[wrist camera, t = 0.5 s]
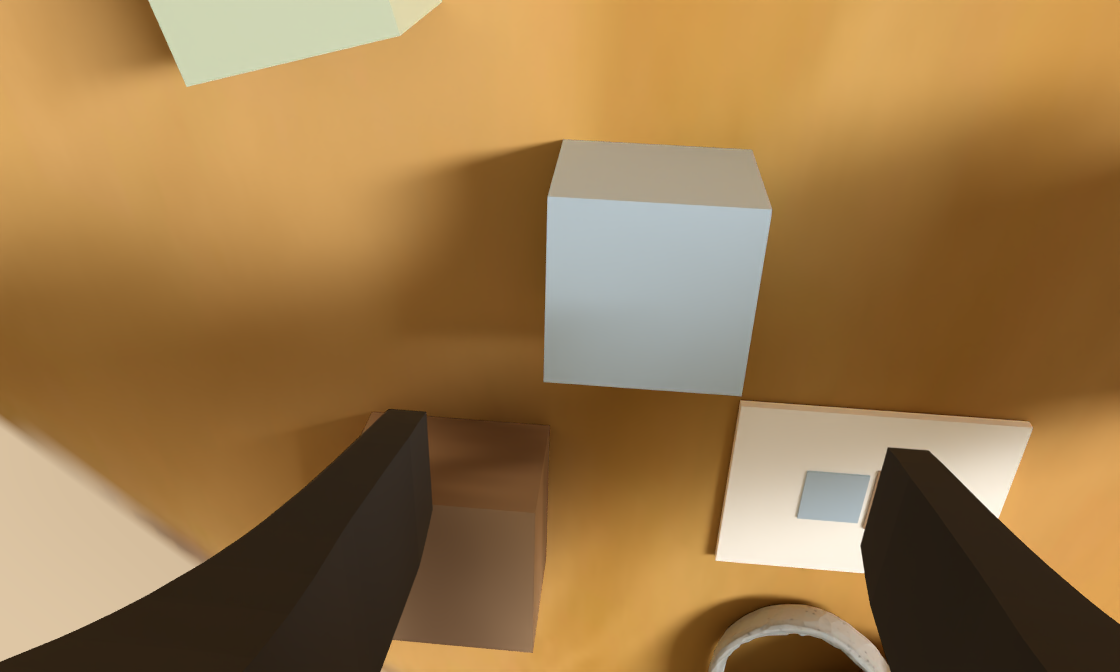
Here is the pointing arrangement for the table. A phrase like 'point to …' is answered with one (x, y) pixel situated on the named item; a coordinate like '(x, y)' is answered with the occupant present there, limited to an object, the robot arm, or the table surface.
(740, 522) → the page
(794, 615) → the ceramic mug
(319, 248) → the table surface
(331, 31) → the brick
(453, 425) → the base brick
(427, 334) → the table surface
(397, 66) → the table surface
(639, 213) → the blue brick
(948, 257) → the table surface
